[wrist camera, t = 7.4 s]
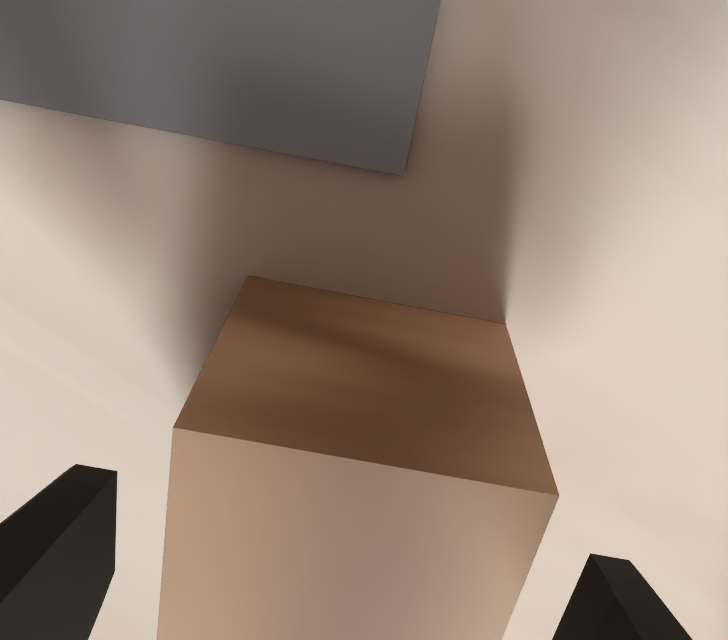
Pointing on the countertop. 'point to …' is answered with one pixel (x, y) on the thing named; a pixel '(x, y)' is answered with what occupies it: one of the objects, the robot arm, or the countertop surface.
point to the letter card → (231, 70)
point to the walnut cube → (351, 476)
